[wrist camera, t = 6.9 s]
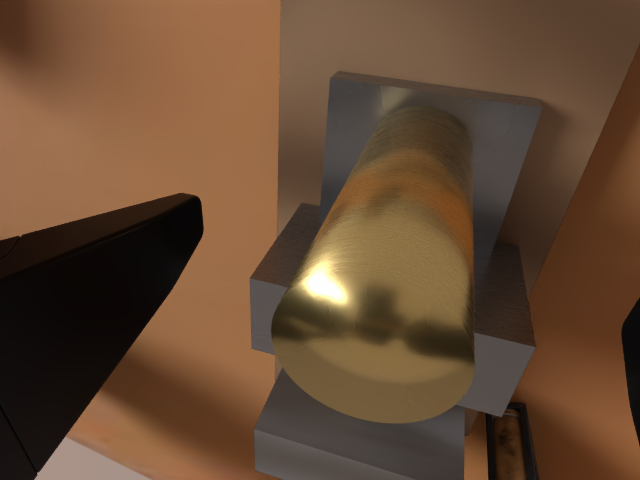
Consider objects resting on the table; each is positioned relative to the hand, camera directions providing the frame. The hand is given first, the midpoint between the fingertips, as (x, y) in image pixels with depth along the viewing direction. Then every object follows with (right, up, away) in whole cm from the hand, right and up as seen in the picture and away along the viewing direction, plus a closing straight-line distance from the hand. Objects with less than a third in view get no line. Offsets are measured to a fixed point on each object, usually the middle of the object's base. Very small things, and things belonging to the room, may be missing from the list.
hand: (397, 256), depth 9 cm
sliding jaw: (+2, +2, +7) cm, 7 cm away
